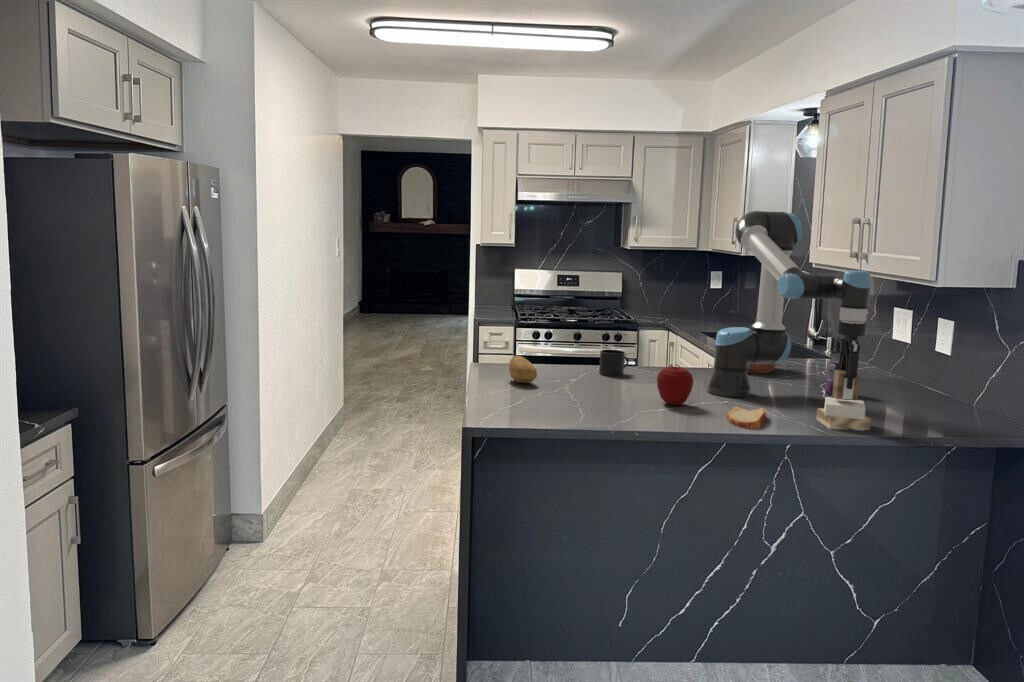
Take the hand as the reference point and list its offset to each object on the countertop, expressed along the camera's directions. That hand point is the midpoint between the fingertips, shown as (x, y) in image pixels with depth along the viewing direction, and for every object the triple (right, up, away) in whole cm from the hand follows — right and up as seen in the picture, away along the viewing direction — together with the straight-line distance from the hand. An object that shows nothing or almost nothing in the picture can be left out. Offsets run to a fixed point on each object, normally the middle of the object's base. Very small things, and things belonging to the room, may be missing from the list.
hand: (844, 396), depth 246 cm
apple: (-49, -4, +20) cm, 53 cm away
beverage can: (+16, -2, +48) cm, 50 cm away
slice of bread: (-29, -8, +2) cm, 30 cm away
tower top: (0, -5, +1) cm, 5 cm away
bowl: (-3, +5, +89) cm, 89 cm away
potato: (-99, +2, +46) cm, 109 cm away
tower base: (0, -9, +1) cm, 9 cm away
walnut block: (0, 0, 0) cm, 1 cm away
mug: (-62, +4, +69) cm, 93 cm away
